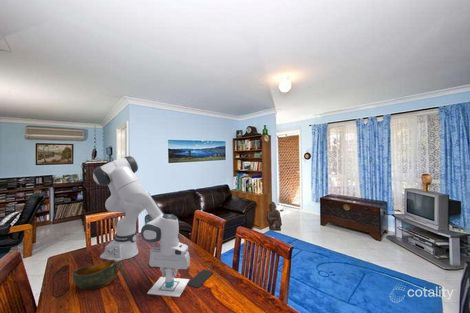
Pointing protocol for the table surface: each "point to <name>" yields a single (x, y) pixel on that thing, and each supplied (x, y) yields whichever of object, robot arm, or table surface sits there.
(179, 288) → the paper
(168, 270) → the marker
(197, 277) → the phone
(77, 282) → the green oval bowl
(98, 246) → the table surface
